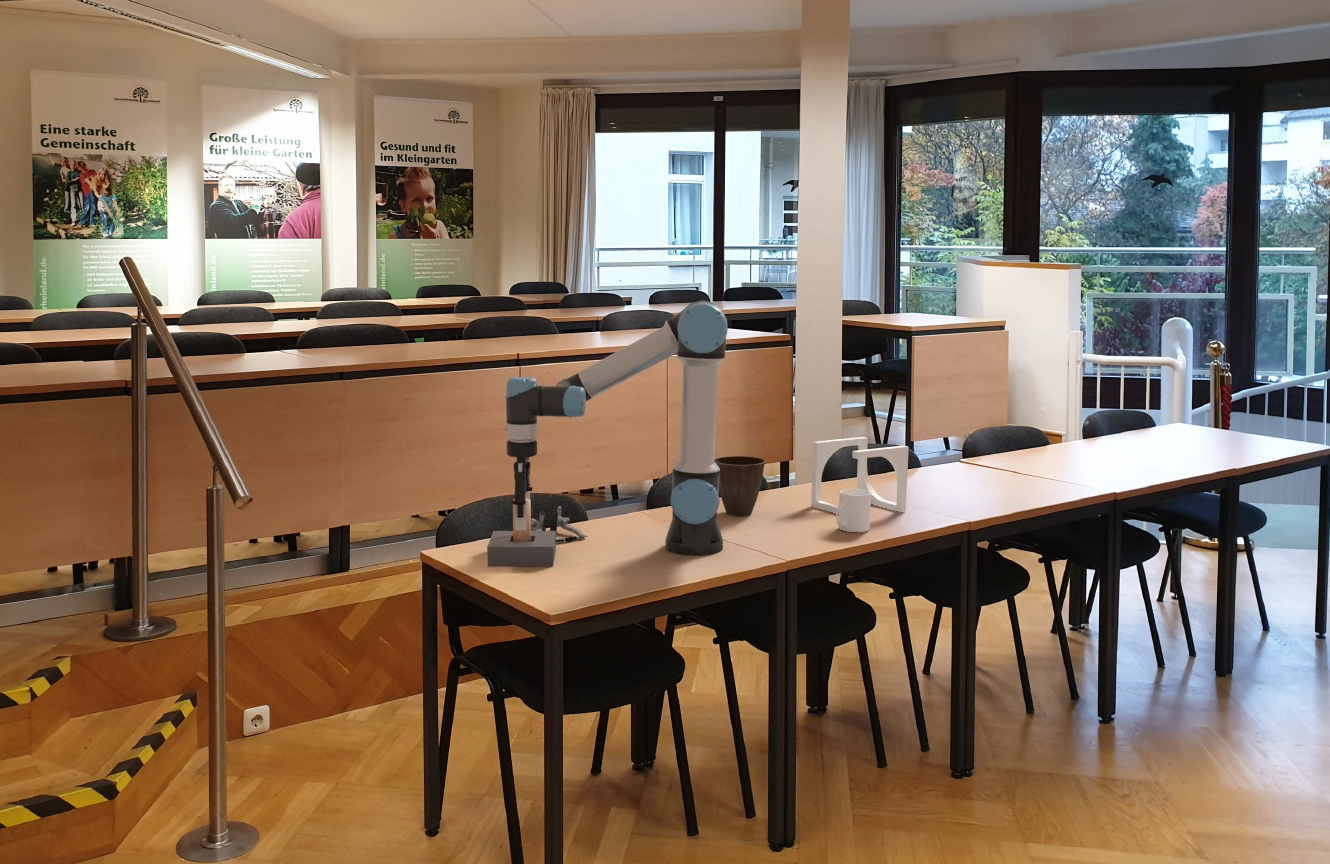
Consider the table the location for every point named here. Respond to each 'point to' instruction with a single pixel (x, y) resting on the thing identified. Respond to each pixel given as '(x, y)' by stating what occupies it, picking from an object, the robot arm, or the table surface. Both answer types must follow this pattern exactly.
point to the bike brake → (556, 525)
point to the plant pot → (739, 483)
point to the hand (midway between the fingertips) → (522, 523)
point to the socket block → (521, 550)
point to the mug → (854, 510)
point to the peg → (526, 534)
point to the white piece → (860, 470)
